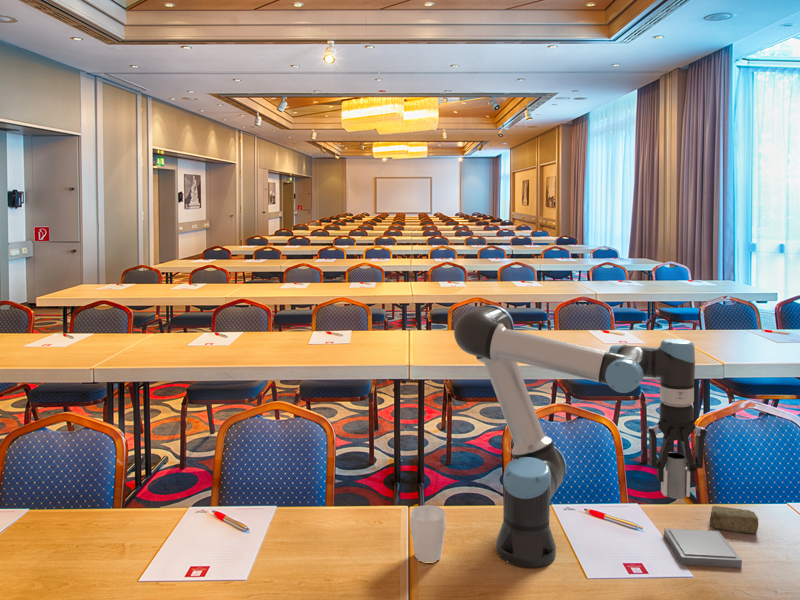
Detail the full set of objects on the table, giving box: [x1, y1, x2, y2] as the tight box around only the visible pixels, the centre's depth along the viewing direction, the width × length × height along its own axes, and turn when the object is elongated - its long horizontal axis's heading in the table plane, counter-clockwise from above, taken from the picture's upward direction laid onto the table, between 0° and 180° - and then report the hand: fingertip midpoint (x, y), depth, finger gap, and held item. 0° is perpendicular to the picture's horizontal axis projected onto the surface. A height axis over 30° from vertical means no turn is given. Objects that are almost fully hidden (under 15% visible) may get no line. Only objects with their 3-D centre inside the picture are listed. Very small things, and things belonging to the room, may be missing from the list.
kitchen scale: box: [663, 528, 743, 569], centre depth 154 cm, size 14×14×2 cm
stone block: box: [709, 505, 759, 534], centre depth 165 cm, size 6×12×5 cm, turn 72°
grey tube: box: [665, 451, 687, 500], centre depth 147 cm, size 4×4×10 cm
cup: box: [409, 504, 447, 562], centre depth 152 cm, size 9×9×12 cm
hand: (675, 493), depth 148 cm, fingers closed on grey tube, 4 cm apart
